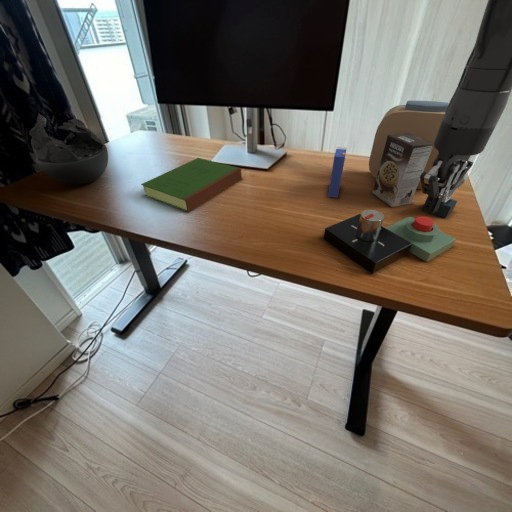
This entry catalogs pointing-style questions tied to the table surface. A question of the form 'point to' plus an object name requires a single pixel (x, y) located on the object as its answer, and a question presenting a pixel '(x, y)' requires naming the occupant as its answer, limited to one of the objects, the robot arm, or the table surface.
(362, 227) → the knob
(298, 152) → the table surface
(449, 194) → the watch
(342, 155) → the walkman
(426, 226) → the button
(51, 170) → the gray filled bowl
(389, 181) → the coffee box
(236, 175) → the hardcover book
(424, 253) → the button base
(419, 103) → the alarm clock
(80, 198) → the table surface
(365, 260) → the dial panel
